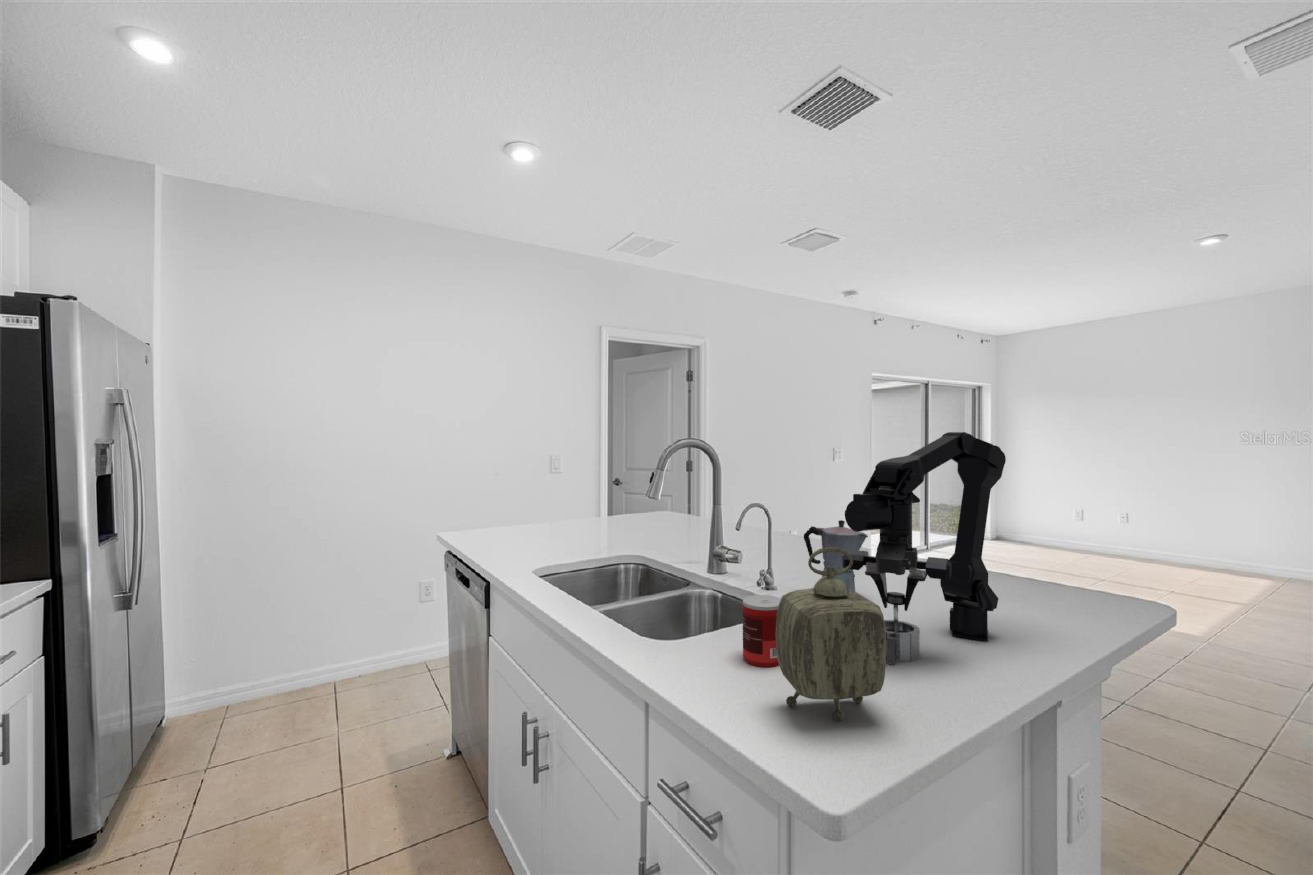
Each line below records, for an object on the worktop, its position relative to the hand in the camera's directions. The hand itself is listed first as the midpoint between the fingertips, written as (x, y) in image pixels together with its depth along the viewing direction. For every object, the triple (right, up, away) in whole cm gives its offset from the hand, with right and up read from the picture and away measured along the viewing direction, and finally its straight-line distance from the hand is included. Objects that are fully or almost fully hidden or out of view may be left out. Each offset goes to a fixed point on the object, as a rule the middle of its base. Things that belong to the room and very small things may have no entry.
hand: (895, 609), depth 111 cm
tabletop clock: (-19, -9, -23) cm, 32 cm away
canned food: (-26, -9, -3) cm, 27 cm away
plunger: (0, -6, 0) cm, 6 cm away
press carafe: (-1, -8, -1) cm, 8 cm away
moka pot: (-1, -8, +35) cm, 36 cm away
